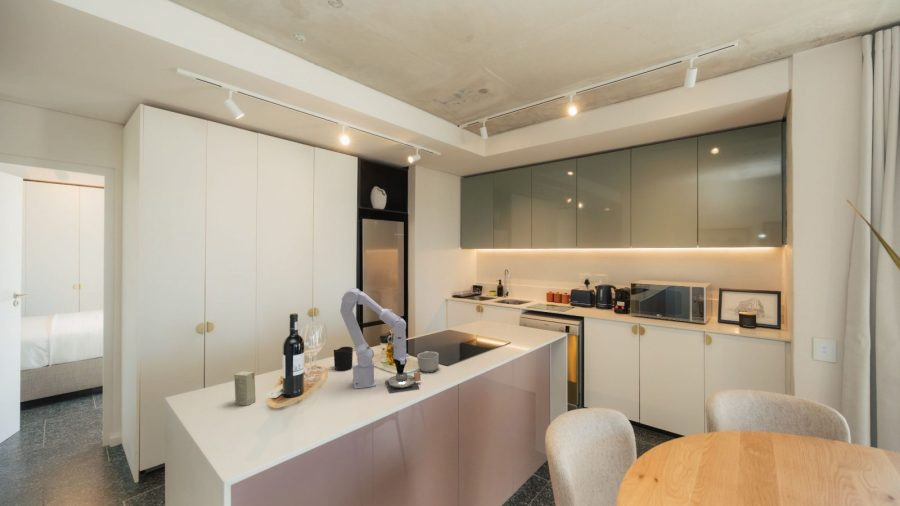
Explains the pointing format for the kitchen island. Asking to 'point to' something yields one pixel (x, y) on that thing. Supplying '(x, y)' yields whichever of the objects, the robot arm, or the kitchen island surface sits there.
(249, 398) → the skincare box
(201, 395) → the kitchen island surface
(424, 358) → the teacup
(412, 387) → the turntable base
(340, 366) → the pen holder
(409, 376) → the turntable
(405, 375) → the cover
